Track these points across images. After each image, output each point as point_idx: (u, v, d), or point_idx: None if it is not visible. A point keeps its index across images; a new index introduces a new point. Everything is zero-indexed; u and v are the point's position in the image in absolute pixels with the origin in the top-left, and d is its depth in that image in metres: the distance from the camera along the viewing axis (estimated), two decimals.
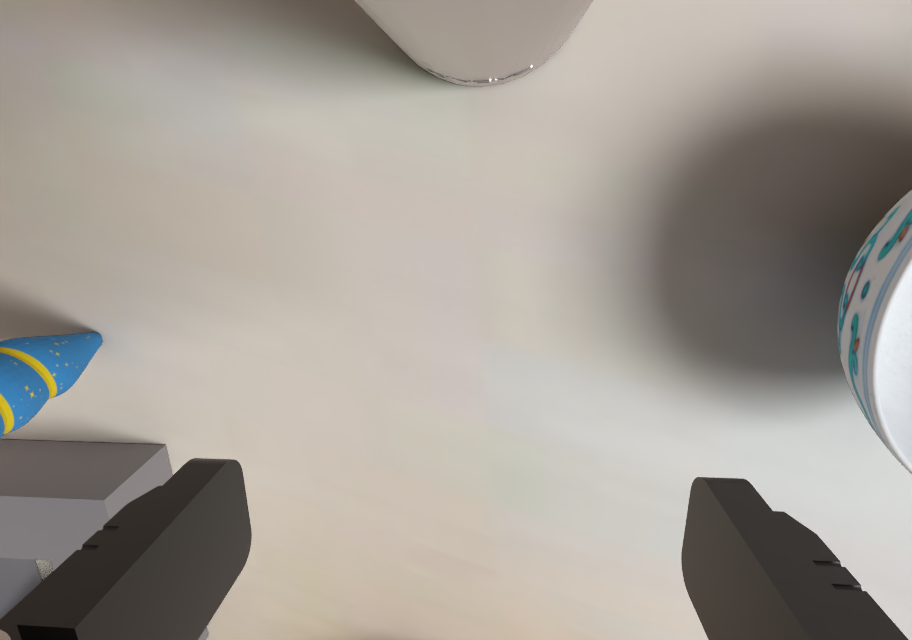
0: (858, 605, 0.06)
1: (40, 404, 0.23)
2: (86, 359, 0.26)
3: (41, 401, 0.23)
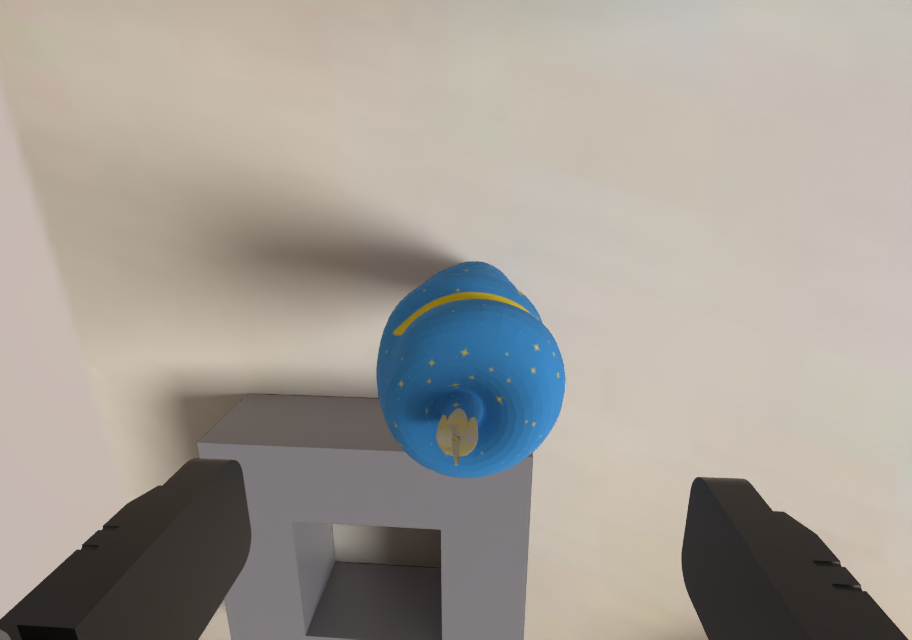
0: (858, 605, 0.06)
1: None
2: None
3: None
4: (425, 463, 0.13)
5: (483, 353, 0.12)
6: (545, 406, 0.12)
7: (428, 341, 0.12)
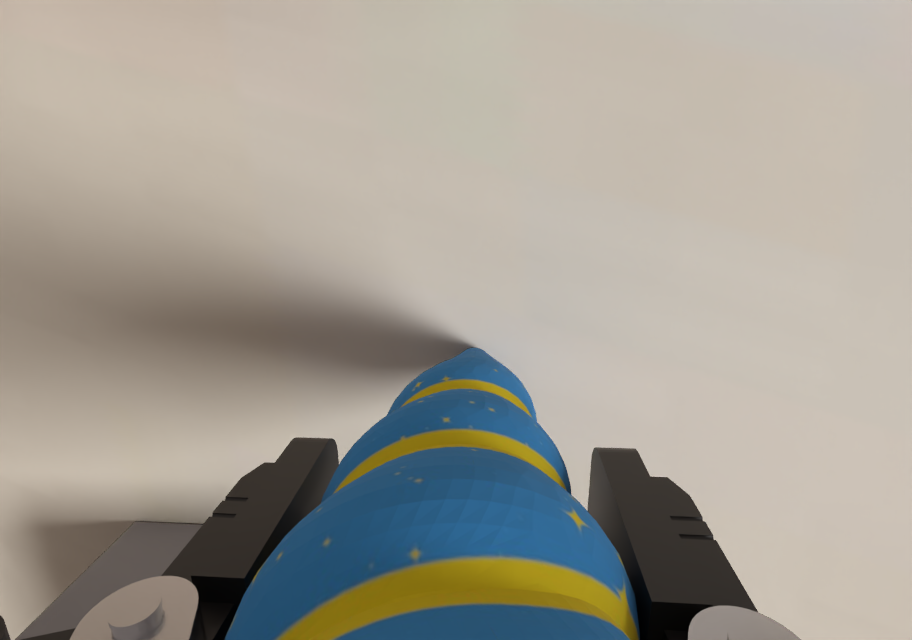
0: (704, 551, 0.07)
1: None
2: None
3: None
4: None
5: None
6: None
7: None
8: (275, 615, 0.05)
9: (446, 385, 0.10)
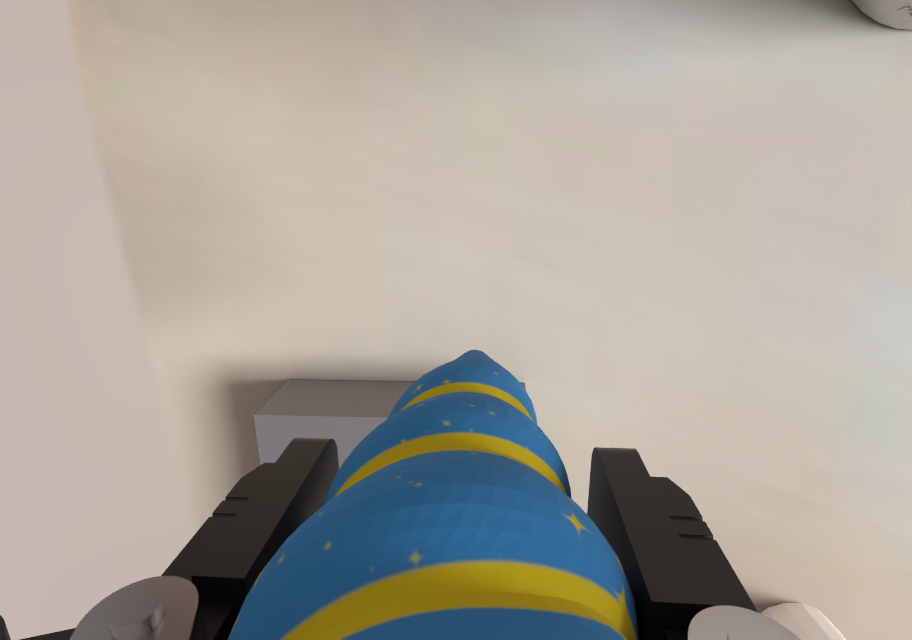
0: (704, 551, 0.07)
1: None
2: None
3: None
4: None
5: None
6: None
7: None
8: (277, 618, 0.05)
9: (446, 388, 0.10)
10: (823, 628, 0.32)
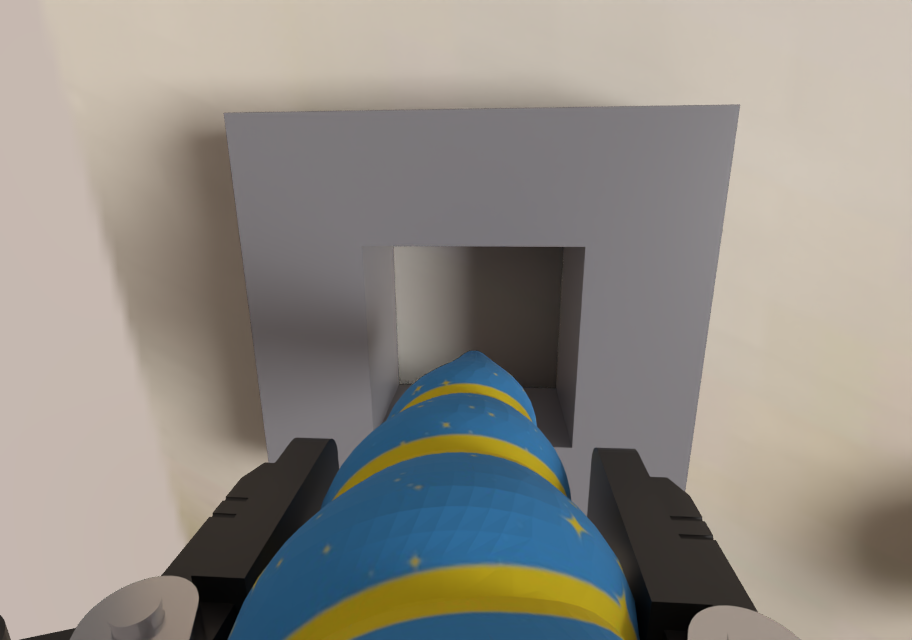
0: (704, 551, 0.07)
1: None
2: None
3: None
4: None
5: None
6: None
7: None
8: (275, 623, 0.05)
9: (446, 389, 0.10)
10: None
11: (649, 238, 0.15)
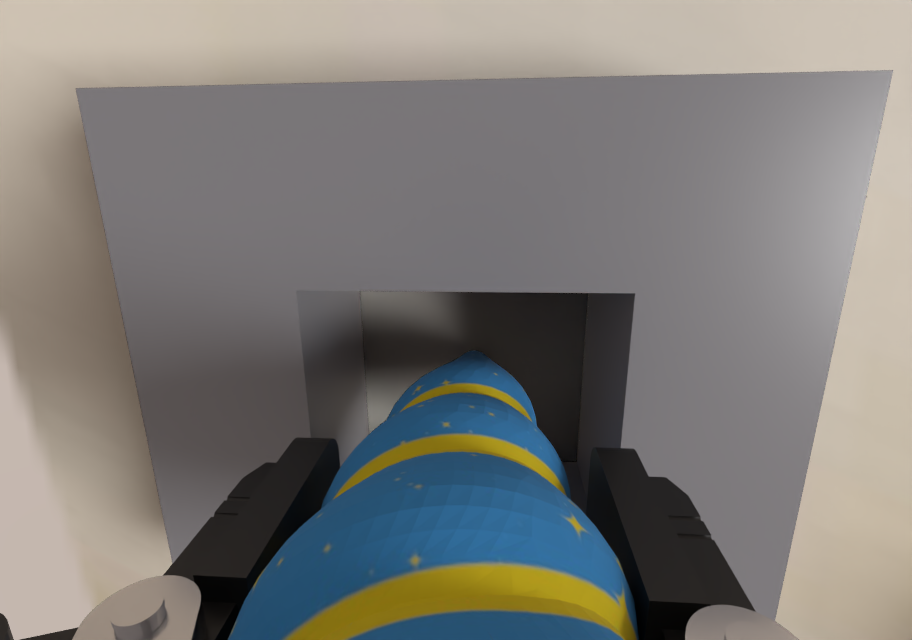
0: (702, 550, 0.07)
1: None
2: None
3: None
4: None
5: None
6: None
7: None
8: (276, 621, 0.05)
9: (446, 389, 0.10)
10: None
11: (735, 281, 0.10)
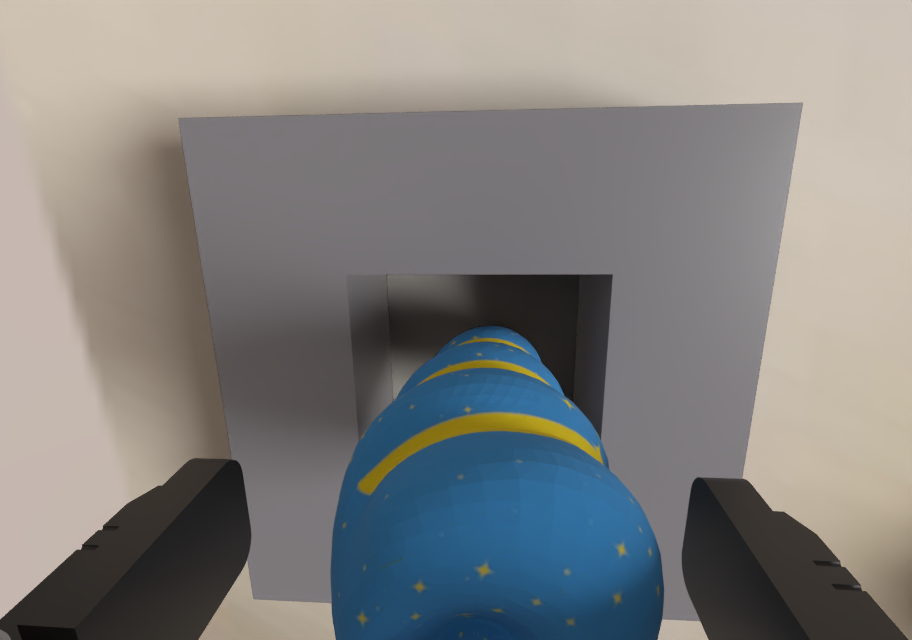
0: (858, 605, 0.06)
1: None
2: None
3: None
4: None
5: (519, 571, 0.06)
6: None
7: (412, 543, 0.06)
8: (383, 446, 0.08)
9: (475, 341, 0.13)
10: None
11: (690, 264, 0.13)
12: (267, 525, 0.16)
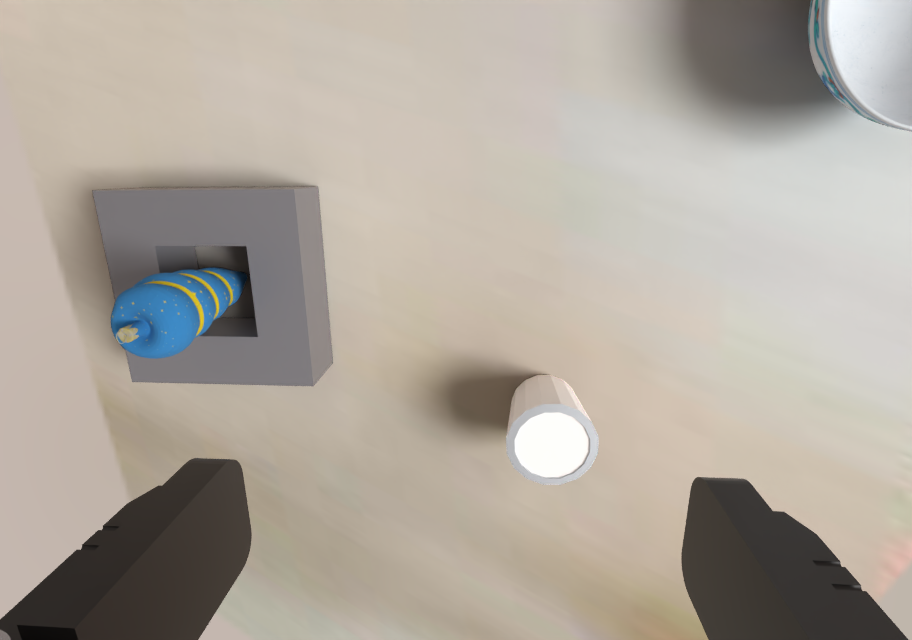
0: (858, 605, 0.06)
1: (227, 306, 0.38)
2: (243, 286, 0.41)
3: (228, 304, 0.38)
4: (128, 350, 0.31)
5: (140, 303, 0.30)
6: (170, 325, 0.30)
7: (120, 299, 0.30)
8: None
9: None
10: (554, 383, 0.41)
11: (271, 242, 0.37)
12: None
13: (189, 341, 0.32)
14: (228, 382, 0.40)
